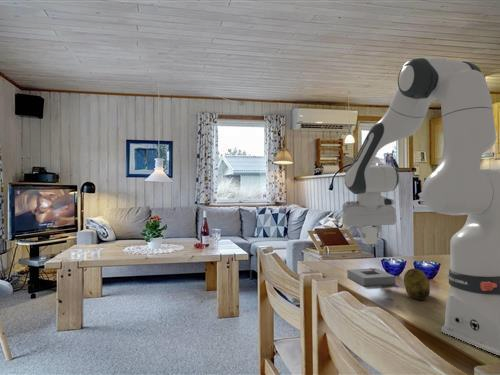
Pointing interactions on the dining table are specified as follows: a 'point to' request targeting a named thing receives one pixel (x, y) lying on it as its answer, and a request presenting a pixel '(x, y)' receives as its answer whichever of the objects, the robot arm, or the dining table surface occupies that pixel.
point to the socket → (371, 277)
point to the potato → (417, 284)
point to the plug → (370, 236)
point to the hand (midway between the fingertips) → (369, 237)
